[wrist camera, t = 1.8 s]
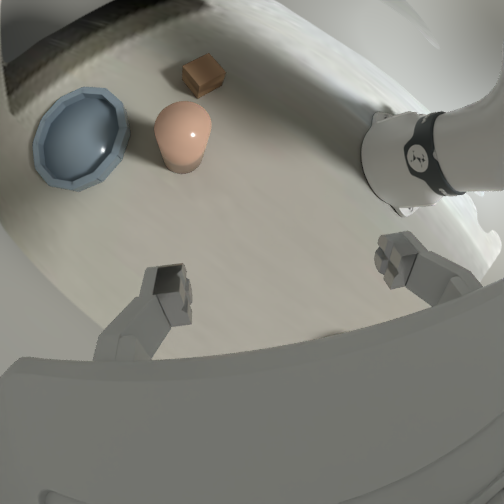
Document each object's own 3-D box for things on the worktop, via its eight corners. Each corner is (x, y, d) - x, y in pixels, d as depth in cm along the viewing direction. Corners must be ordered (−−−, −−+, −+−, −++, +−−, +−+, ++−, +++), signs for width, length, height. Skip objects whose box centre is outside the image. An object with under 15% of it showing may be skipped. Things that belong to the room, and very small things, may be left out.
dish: (121, 81, 29) (117, 73, 26) (138, 168, 31) (135, 164, 29) (38, 118, 26) (30, 113, 23) (49, 205, 28) (41, 204, 26)
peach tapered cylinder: (197, 131, 32) (203, 95, 22) (207, 167, 33) (217, 144, 23) (159, 142, 31) (149, 110, 21) (168, 179, 32) (161, 160, 22)
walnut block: (205, 67, 31) (208, 53, 28) (221, 85, 32) (226, 72, 29) (182, 80, 31) (182, 65, 27) (197, 99, 32) (199, 86, 28)
